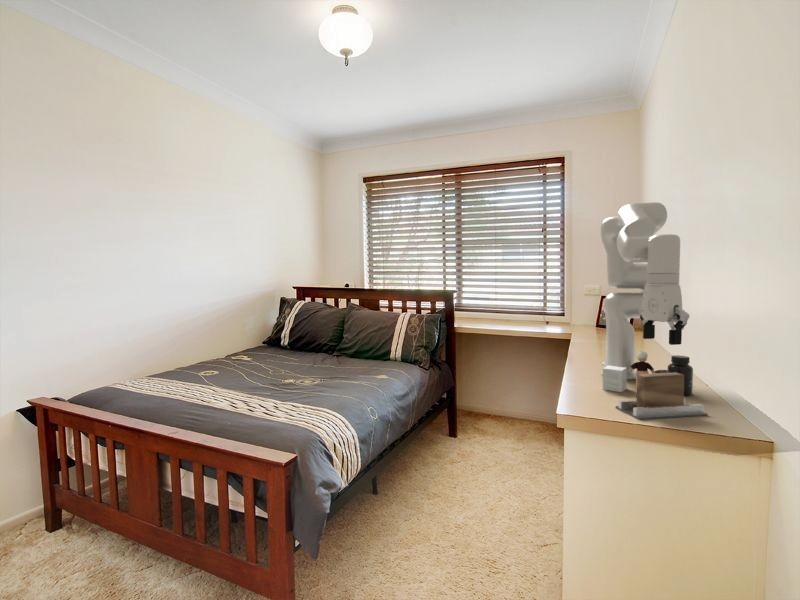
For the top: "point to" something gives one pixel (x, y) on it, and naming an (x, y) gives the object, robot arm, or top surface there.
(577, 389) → the top surface
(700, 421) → the top surface
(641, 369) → the grandmother figurine
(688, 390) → the supplement bottle
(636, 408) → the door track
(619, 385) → the product box
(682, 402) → the walnut door panel
